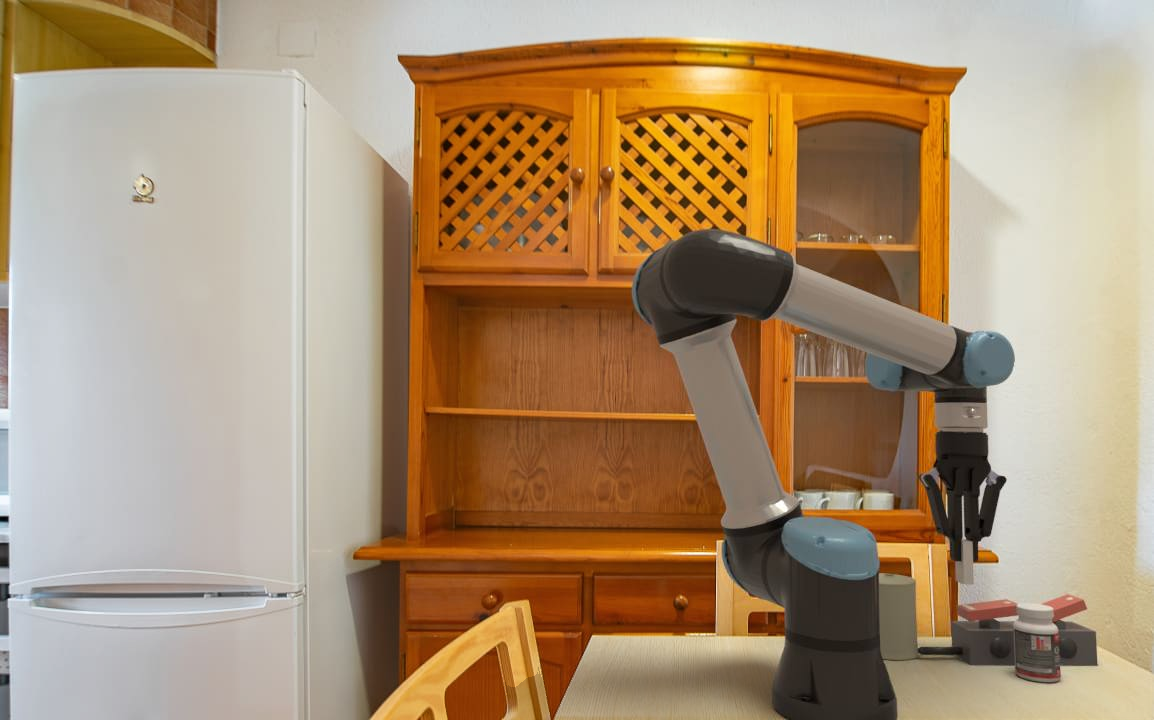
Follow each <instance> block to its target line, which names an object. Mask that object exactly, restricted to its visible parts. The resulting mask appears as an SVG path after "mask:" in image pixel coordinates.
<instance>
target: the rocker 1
mask: <svg viewBox="0 0 1154 720" xmlns="http://www.w3.org/2000/svg"><path fill="white" fill-rule="evenodd" d="M1017 604H1018V603H1016V602H1014V601H1011V600H1010V599H1006V598H1005V599H997V600H990V601H983V602H982V601H981V602H976V603H975V602H974V603H972V602H971V603H966V604H956V605H955V606H956V612H957V616H959V617H960V618H962V619H965V621H979V620H986V619H1001V618H1008V617H1016V616H1017V617H1019V615H1018V614H1017V612H1016V605H1017Z"/></svg>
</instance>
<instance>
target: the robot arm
mask: <svg viewBox="0 0 1154 720" xmlns="http://www.w3.org/2000/svg"><path fill="white" fill-rule="evenodd" d="M794 256H795V255H794V254H793V253H791V252H788V251H786V250H784V249H781V248H779V247H777V246H773V245H772V244H769V243H766V242H763V241H761V240H758V239H755V238H752V237H750V236H747V235H743V234H740V233H736V232H733V231H729V230H725V229H715V228H703V229H697V230H692V231H690V232H688V233H686V234H684V235H682V236H681V237H679V238H678V239H675V240H674V241H672V242H670V243H668V244H665V245H664V246H661V247H660V248H659V249H656V250H654V251H653V252H652V253H651V254H649V255H648V256H647V257H646V258H645V259H644V261H643V262H642V263H641V264H640V265H639V267H638V268H637V269H636V272H635V274H634V276H633V281H632V285H631V297H632V302H633V305H634V307H635V310H636V312H637V313H638V315H639V316H640V317H641V318H642V320H643V321H644V322H646V323H647V324H648V325H649V326H652V327H653V330H654V332H655V336H656V338H657V339H656V340H657V342H658V344H659V346H660V348H662V349H664V350H666V351H668V352H669V353H672V355H673V356H674V359H675V361H676V364H677V367H678V370H679V372H680V376H681V379H682V381H683V384H684V385H683V386H684V388H685V390H686V393H687V396H688V400H689V402H690V405H691V408H692V411H693V414H694V417H695V420H696V422H697V424H698V425H697V427H698V428H699V431H700V434H701V436H702V440H703V443H704V446H705V449H706V452H707V455H708V457H709V460H710V463H711V466H712V469H713V471H714V474H715V479H716V481H717V484H718V486H719V490H720V492H721V496H722V499H723V501H724V503H725V507H726V508H725V512H724V514H723V516H722V518H721V520H720V525H721V527H722V530H723V533H724V539H723V541H721V559H722V560H721V561H722V564H723V566H724V569H725V571H726V573H727V575H728V576H729V577H730V579H731V580H732V581H733V582H734V584H736V585H737V586H738V587H740V588H741V589H742V590H743V591H744V592H746V593H748V594H749V595H750V596H753V597H756V598H758V599H760V600H763V601H767V602H769V603H771V604H774V605H777V606H780V607H782V608H784V646H783V650H782V651H781V652H782V653H781V656H780V659H779V662H778V667H777V669H776V672H775V676H774V678H773V683H772V686H771V695H772V696H771V702H772V707H773V709H774V710H775V711H777V713H779V714H781V715H782V716H784V717H786V718H787V719H789V720H897V719H898V699H897V695H896V692H895V688H894V687H893V683H892V680H891V677H890V675H889V672H888V669H887V666H886V663H885V659H883V657H882V654H881V650H880V614H879V573H880V567H881V566H880V565H881V564H880V563H881V562H880V558H879V552H878V544H877V540H876V538H875V535H874V534H873V533H872V531H870V530H869V529H868V528H866V527H864V526H862V525H860V524H857V523H855V522H851V521H848V520H843V519H834V518H832V517H824V516H823V517H822V516H821V517H820V516H805V515H804V513H803V510H802V507H801V504H800V501H799V499H798V498H797V497H796V496H794V495H792V494H791V493H789V492H786V491H785V490H784V487H783V485H782V483H781V479H780V477H779V473H778V471H777V468H776V464H775V461H774V459H773V458H774V457H773V456H772V452H771V449H770V447H769V443H768V441H767V438H766V435H765V432H764V429H763V427H762V423H761V421H760V418H759V415H758V413H757V412H758V411H757V409H756V406H755V404H754V400H753V397H752V394H751V392H750V388H749V385H748V383H747V380H746V377H745V373H744V370H743V368H742V365H741V362H740V359H739V356H738V353H737V350H736V348H735V344H734V342H733V338H732V336H731V335H732V331H733V330H734V328H735V326H736V324H737V321H738V320H737V317H736V315H738V316H739V315H740V316H745V317H748V318H750V319H754V320H757V321H761V322H768V321H770V320H772V319H773V318H774V319H776V320H779V321H782V322H783V323H784V322H785V323H787V324H790V325H793V326H796V327H798V328H801V329H803V330H806V331H809V332H810V333H811V332H812V333H814V334H816V335H819V336H823V337H825V338H828V339H831V340H833V341H836V342H838V343H841V344H844V345H847V346H849V347H852V348H855V349H857V350H860V351H863V352H865V353H867V354H866V356H865V360H864V361H865V362H864V365H865V367H864V368H865V369H864V372H865V373H864V374H865V377H866V379H867V381H868V382H869V384H870V385H871V386H872V387H873V388H875V389H877V390H880V391H881V390H882V391H890V392H930V393H933V395H934V396H933V398H934V399H933V400H934V426H935V428H937V429H938V431H936V433H934V437H935V441H934V442H935V446H934V447H935V461H934V463H933V468H932V469H930V470H929V471H927V472H925V473H920V474H919V476H918V479H919V481H920V482H921V484H922V486H923V487H924V489H925V492H926V496H927V500H928V504H929V508H930V512H931V515H932V520H933V522H934V526H935V530H936V533H937V534H938V535H941V536H944V537H945V538H947V539H948V540H949V558H950V560H951V561H953V562H955V564H954V565H955V582H958V583H960V584H962V585H967V586H968V585H970V586H971V585H972V586H973V585H974V584H975V583H974V579H975V578H974V562H975V563H976V562H978V561H979V542H981V541H982V540H983V539H984V538H989V537H991V535H992V531H993V526H994V521H995V518H996V517H995V516H996V512H997V508H998V503H999V498H1000V494H1001V490H1002V489H1003V487H1004V486H1005V484H1006V483H1007V477H1006V476H1004V475H999V474H998V473H997V472H995V471H993V470H992V465H991V464H990V462H989V458H988V457H989V434H987V432H984V429H987V428H988V423H989V422H988V404H987V402H988V396H987V395H988V394H987V393H988V391H987V387H990V386H998V385H1000V384H1003V383H1004V382H1006V380H1008V378H1010V376H1011V374H1012V373H1013V370H1014V367H1015V362H1016V361H1015V360H1016V358H1015V351H1014V348H1013V345H1012V344H1011V342H1010V341H1009V339H1008V338H1007V337H1006V336H1004V335H1003V334H1001V333H1000V332H997V331H993V330H992V331H991V330H989V331H984V330H977V331H974V332H972V331H966V330H963V329H962V328H961V329H960V328H958V327H956V326H952V325H950V324H947V323H945V322H942V321H940V320H937V319H935V318H933V317H931V316H927V315H926V314H923V313H920V312H917V311H915V310H912V309H910V308H908V307H904V306H902V305H900V304H897V303H896V302H893V301H889V300H888V299H885V298H882V297H879V296H877V295H875V294H872V293H871V292H867V291H865V290H863V289H859V287H855V286H852V285H850V284H848V283H845V282H843V281H840V280H838V279H836V278H833V277H830V276H828V275H825V274H823V273H820V272H818V271H814V270H812V269H810V268H807V267H805V266H802V265H800V264H797V261H796V258H795V257H794ZM939 479H940V480H941V482H942V483H943V485H944V486H945V494H946V498H947V499H946V501H947V502H946V503H947V504H946V505H947V507H946V508H945V504H944V499H943V496H942V492H941V488H940V487H939V482H940V481H939ZM984 482H985V483H986V485H985V486H984V487H985V488H984V490H983V495H982V500H981V504H980V507H979V503H980V501H979V500H980V499H979V497H980V495H981V486H982V484H983V483H984ZM946 509H947V512H946ZM963 523H964V524H963ZM963 526H964V527H963ZM963 530H964V531H963ZM963 537H965V538H963Z"/></svg>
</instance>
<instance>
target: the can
mask: <svg viewBox="0 0 1154 720" xmlns="http://www.w3.org/2000/svg"><path fill="white" fill-rule="evenodd" d="M916 585H917V581H916V579H915V578H913V577H910V576H906V575H901V574H897V573H886V572H885V573H883V572H882V573H880V572H879V614H880V650H881V654H882V657H883V660H884V661H885V660H886V661H910V660H914V659H917V658H918V657H919V656H920V654H919V653H918V648H919V643H918V628H917V627H918V625H917V624H918V623H917V597H916V596H917V593H916V589H917V588H916Z"/></svg>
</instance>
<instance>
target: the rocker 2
mask: <svg viewBox="0 0 1154 720" xmlns="http://www.w3.org/2000/svg"><path fill="white" fill-rule="evenodd" d="M1041 604H1042V605H1046V606H1050V607H1052V608H1053V611H1054V617H1053V618H1052V622H1054V621H1057V620H1062V619H1064V618H1067V617H1070V616H1072V615H1075V614H1078V613H1081V612H1084V611H1086V610H1088V607H1087V605H1086V602H1085V600H1084V599H1082V598H1080V597H1077V596H1074V595H1071V594H1069V593H1067V594H1064V595H1061V596H1059V597H1056V598H1053V599H1051V600H1048V601H1045V602H1042V603H1041Z"/></svg>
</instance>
